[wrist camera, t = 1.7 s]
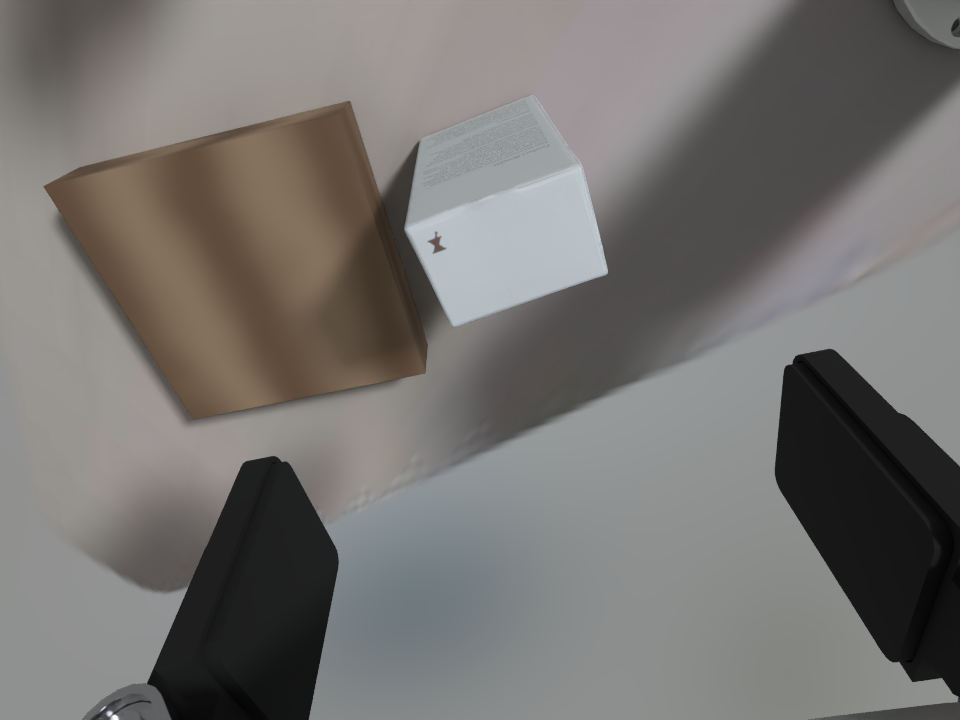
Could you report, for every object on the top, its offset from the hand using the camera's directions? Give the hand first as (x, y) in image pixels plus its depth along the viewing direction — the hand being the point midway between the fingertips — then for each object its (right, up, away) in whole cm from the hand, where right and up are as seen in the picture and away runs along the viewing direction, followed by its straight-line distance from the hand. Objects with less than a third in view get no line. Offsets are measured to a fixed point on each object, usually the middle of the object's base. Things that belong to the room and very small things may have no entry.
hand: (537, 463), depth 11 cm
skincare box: (-1, +12, +18) cm, 22 cm away
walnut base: (-13, +7, +21) cm, 25 cm away
